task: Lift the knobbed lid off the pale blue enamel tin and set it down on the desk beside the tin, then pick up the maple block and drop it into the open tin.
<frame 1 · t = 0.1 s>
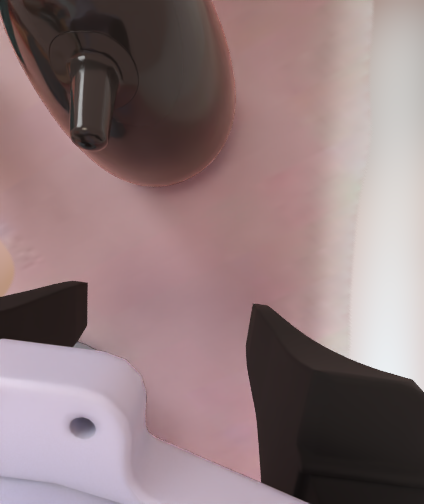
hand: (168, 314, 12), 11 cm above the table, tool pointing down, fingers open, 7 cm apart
pump dispenser: (165, 126, 22), on the table
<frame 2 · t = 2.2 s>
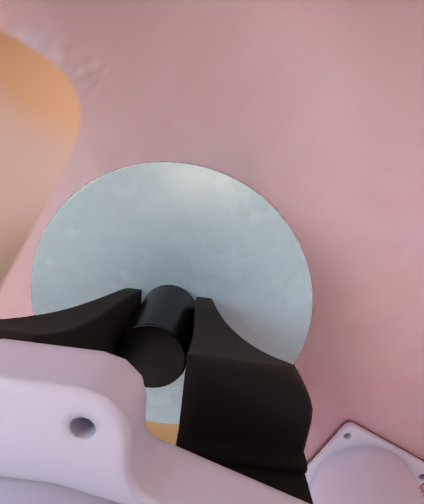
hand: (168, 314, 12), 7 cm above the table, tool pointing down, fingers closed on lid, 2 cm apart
block: (174, 391, 22), on the table
lid: (171, 304, 13), point 6 cm above the table, touching gripper, tin
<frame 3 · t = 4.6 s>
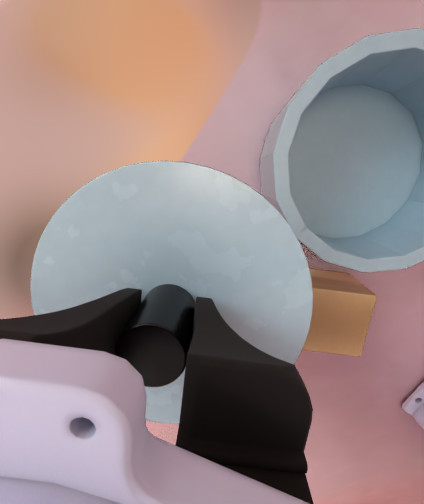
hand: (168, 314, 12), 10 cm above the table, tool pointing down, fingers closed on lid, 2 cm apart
block: (314, 295, 23), on the table
tin: (343, 166, 20), on the table
lid: (171, 303, 13), point 9 cm above the table, touching gripper
when the fingers open (2 cm above the table, at t = 7.0 s): lid stays where it is, point 1 cm above the table.
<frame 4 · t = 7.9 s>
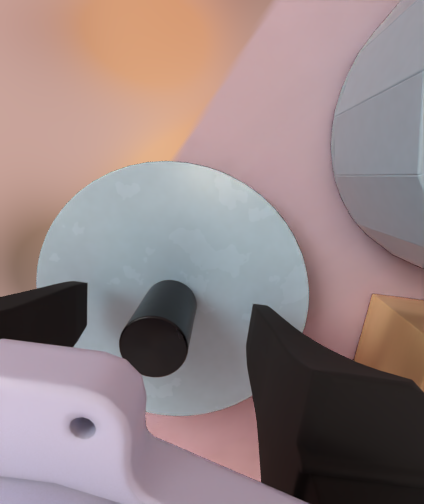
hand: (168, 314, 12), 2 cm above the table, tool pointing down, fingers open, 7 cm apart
block: (404, 339, 15), on the table
lid: (172, 299, 14), point 1 cm above the table
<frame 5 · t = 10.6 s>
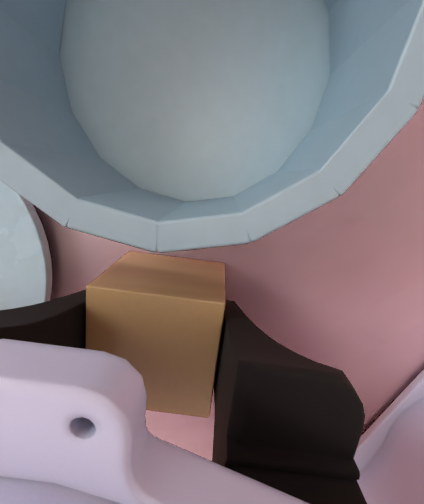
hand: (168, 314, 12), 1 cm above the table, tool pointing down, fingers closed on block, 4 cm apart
block: (172, 300, 14), on the table, touching gripper
tin: (194, 68, 11), on the table
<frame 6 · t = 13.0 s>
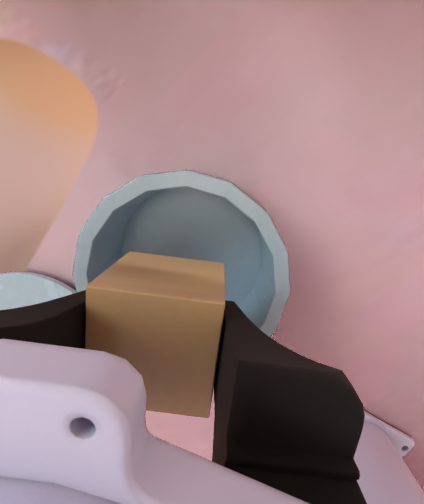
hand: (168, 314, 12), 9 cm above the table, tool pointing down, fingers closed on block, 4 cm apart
block: (172, 300, 14), point 8 cm above the table, touching gripper
tin: (191, 254, 21), on the table
lid: (33, 346, 23), point 1 cm above the table
when the fingers open (4 cm above the table, at t = 15.2 s): block drops 2 cm, resting on tin.
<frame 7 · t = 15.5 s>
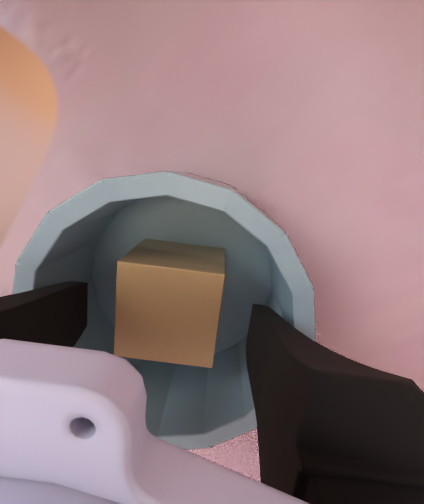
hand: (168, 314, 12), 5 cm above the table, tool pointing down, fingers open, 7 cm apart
block: (181, 280, 16), resting on tin
tin: (182, 278, 17), on the table
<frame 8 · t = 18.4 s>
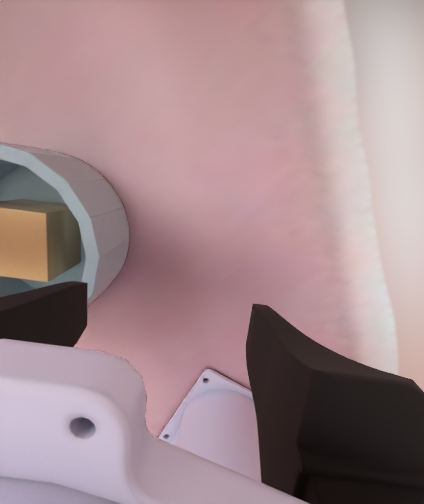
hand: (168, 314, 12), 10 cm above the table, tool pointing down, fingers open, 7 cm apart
block: (52, 231, 22), resting on tin
tin: (55, 230, 22), on the table
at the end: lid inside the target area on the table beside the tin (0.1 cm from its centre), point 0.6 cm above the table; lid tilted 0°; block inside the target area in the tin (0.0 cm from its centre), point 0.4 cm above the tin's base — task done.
